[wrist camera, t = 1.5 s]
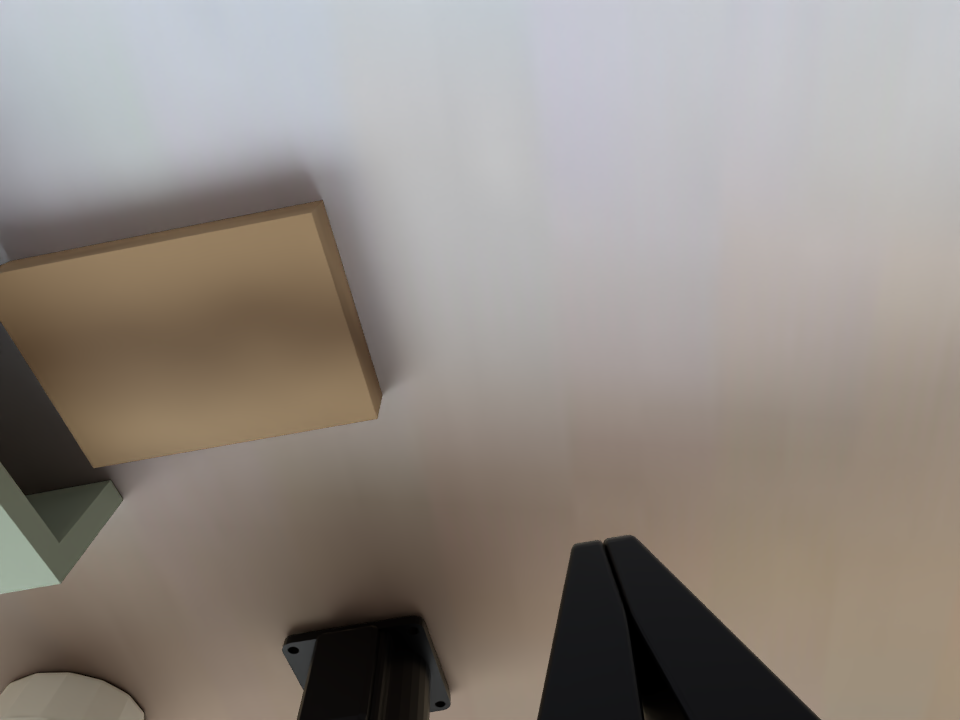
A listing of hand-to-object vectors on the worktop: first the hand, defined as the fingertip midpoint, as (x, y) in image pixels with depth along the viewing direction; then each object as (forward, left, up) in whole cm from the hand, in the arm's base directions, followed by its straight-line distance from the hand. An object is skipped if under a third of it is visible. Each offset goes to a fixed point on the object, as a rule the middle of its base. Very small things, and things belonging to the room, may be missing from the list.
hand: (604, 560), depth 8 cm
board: (0, +10, -12) cm, 16 cm away
